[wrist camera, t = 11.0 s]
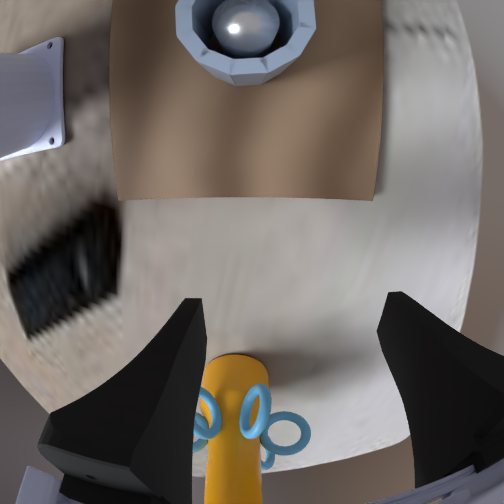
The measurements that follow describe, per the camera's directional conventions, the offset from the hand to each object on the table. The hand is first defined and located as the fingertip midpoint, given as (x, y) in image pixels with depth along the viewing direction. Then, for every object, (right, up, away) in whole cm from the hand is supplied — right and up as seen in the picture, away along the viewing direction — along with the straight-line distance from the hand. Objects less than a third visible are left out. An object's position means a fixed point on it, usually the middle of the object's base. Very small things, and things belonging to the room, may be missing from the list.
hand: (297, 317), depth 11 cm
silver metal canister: (-2, +14, +2) cm, 14 cm away
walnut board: (-2, +14, +3) cm, 15 cm away
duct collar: (-2, +14, +2) cm, 14 cm away
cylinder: (-3, -9, +15) cm, 18 cm away
